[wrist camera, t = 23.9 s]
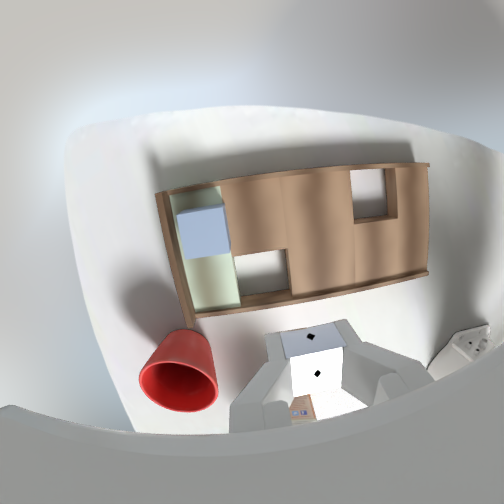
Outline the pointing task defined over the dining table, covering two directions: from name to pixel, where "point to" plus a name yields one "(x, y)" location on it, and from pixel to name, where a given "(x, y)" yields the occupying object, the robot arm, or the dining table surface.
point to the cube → (204, 231)
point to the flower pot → (181, 373)
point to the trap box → (300, 236)
